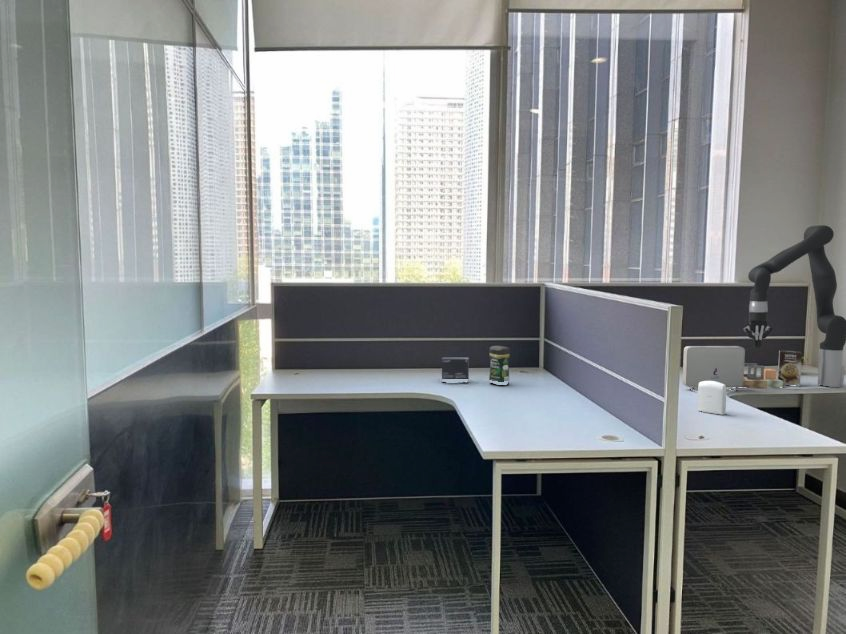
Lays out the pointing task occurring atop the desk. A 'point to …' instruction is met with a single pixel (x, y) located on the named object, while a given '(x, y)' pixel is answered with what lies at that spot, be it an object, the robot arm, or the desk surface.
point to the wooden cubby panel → (762, 383)
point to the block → (770, 374)
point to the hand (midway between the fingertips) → (757, 347)
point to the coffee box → (789, 367)
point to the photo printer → (712, 397)
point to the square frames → (753, 376)
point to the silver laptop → (713, 365)
